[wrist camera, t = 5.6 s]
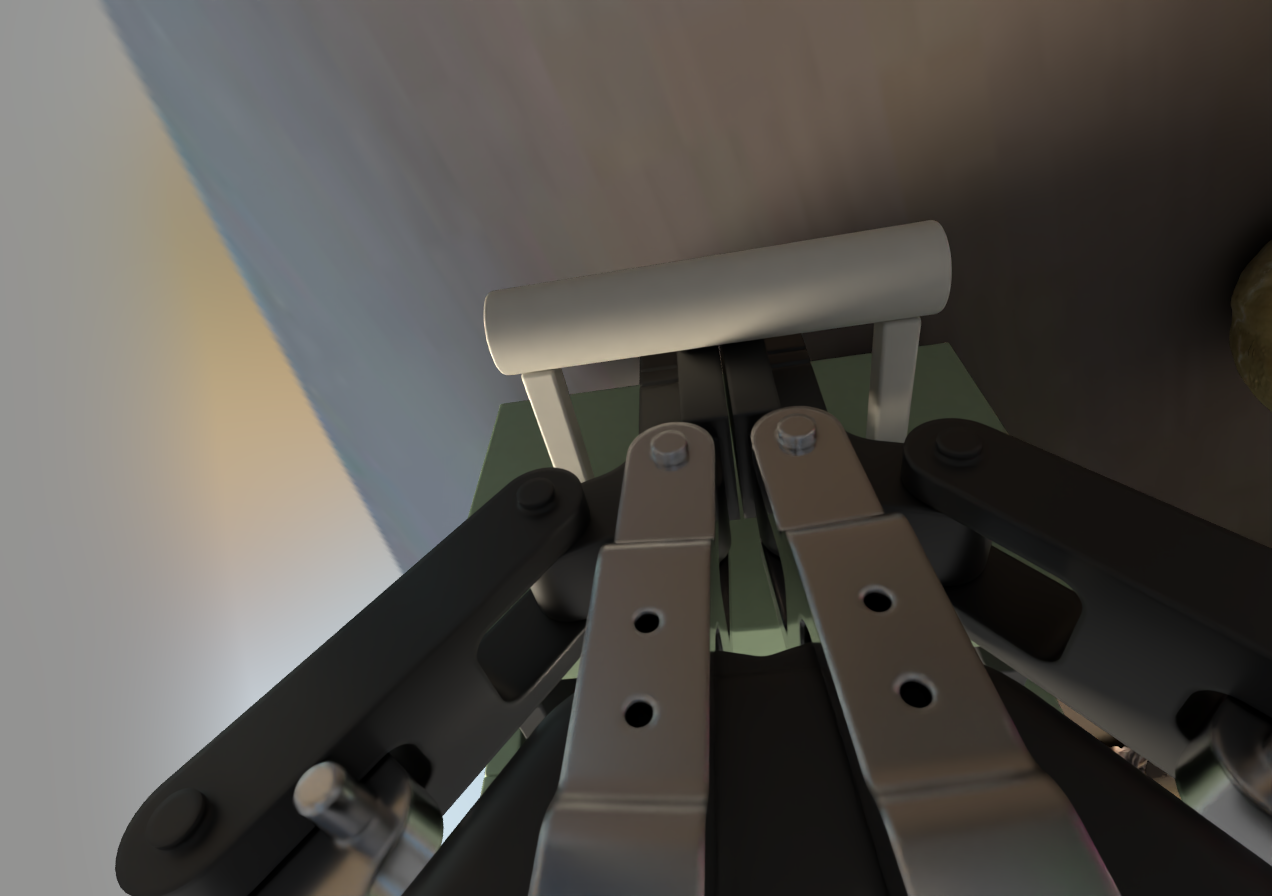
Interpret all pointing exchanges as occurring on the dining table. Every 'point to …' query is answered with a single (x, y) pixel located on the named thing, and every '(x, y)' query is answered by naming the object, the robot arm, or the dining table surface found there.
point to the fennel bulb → (1254, 325)
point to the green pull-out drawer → (715, 315)
